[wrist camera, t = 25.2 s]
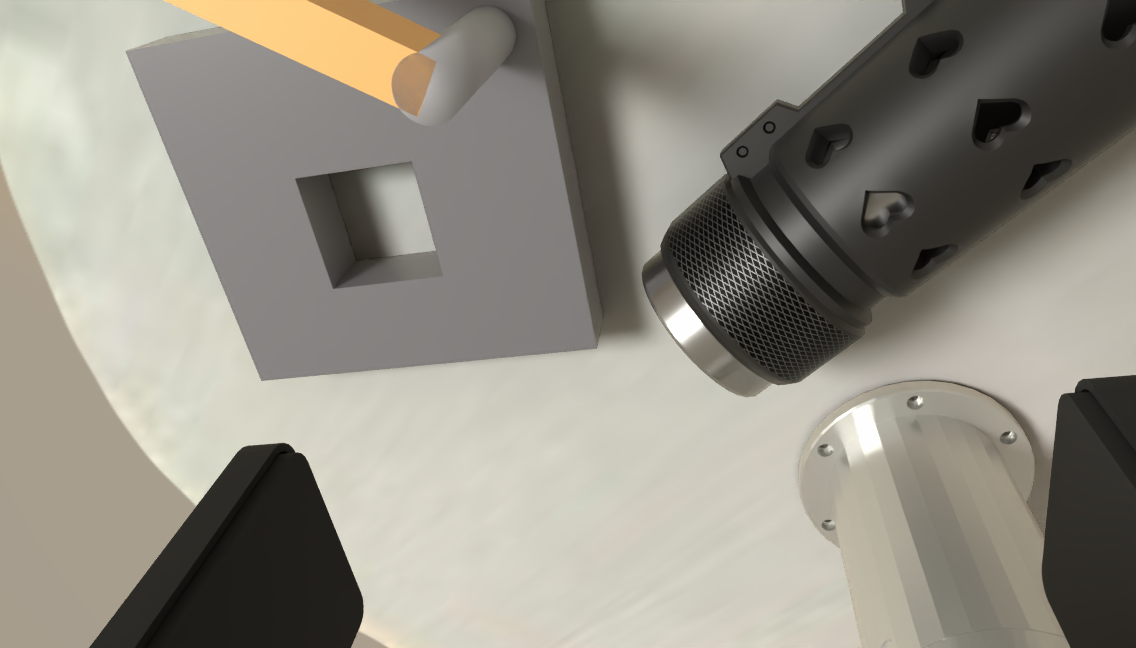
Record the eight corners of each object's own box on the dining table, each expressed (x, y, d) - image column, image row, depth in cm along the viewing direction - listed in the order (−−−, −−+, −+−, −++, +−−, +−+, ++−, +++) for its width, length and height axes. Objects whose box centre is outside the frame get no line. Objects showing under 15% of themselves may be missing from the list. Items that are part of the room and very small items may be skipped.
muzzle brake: (1153, -256, 33) (1318, -54, 33) (637, 220, 44) (769, 360, 45) (1281, -347, 24) (1499, -71, 25) (598, 275, 36) (762, 446, 37)
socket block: (603, 316, 46) (596, 348, 43) (287, 348, 50) (261, 380, 47) (538, -34, 38) (525, -24, 35) (166, 37, 42) (125, 51, 39)
